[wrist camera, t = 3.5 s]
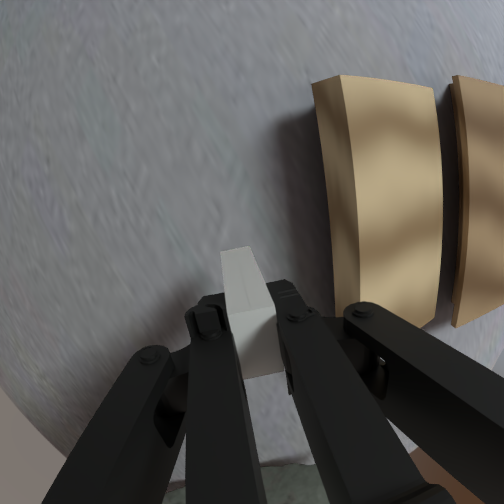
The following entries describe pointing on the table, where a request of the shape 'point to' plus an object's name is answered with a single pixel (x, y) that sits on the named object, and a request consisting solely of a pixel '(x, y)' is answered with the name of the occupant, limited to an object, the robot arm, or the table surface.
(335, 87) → the plank
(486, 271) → the board
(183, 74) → the table surface
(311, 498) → the rock
